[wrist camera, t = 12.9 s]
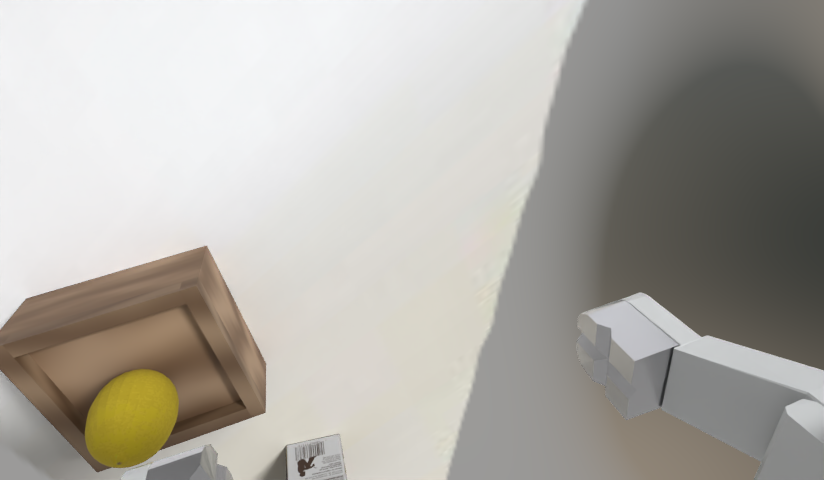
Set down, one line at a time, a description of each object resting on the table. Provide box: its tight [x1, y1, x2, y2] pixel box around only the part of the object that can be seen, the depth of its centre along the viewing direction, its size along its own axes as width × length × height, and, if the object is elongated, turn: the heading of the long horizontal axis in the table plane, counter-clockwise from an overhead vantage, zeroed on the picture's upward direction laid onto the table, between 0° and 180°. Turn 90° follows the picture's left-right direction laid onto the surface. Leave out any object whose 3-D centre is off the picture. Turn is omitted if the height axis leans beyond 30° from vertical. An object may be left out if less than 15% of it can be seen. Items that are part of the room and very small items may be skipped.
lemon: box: [85, 369, 179, 468], centre depth 32 cm, size 6×6×8 cm
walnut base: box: [0, 246, 266, 472], centre depth 37 cm, size 14×14×6 cm
